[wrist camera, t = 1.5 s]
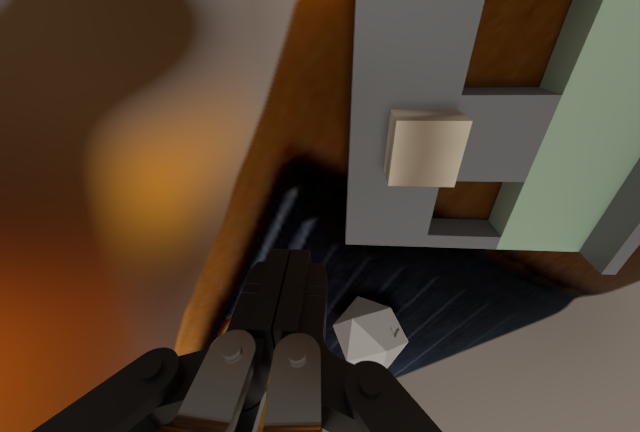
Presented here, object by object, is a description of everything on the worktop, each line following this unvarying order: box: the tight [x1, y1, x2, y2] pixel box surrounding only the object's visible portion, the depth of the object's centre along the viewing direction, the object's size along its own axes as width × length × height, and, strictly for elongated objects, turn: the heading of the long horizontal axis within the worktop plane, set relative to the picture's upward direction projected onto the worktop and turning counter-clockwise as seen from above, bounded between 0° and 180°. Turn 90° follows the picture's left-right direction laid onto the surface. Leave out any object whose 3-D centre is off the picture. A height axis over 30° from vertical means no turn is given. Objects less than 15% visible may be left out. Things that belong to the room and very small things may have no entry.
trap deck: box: [346, 0, 640, 275], centre depth 23 cm, size 24×22×6 cm
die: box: [333, 296, 408, 368], centre depth 37 cm, size 8×9×10 cm
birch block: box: [384, 109, 473, 187], centre depth 22 cm, size 5×5×3 cm
